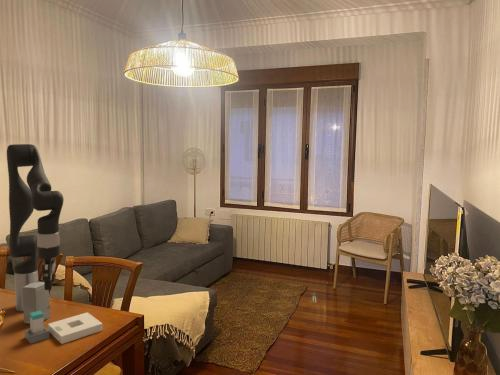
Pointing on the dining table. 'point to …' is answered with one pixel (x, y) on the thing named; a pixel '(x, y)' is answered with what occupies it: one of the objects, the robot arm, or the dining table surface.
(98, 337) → the dining table surface
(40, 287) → the skincare box
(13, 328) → the dining table surface
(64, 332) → the port plate
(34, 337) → the holster
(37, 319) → the plug
